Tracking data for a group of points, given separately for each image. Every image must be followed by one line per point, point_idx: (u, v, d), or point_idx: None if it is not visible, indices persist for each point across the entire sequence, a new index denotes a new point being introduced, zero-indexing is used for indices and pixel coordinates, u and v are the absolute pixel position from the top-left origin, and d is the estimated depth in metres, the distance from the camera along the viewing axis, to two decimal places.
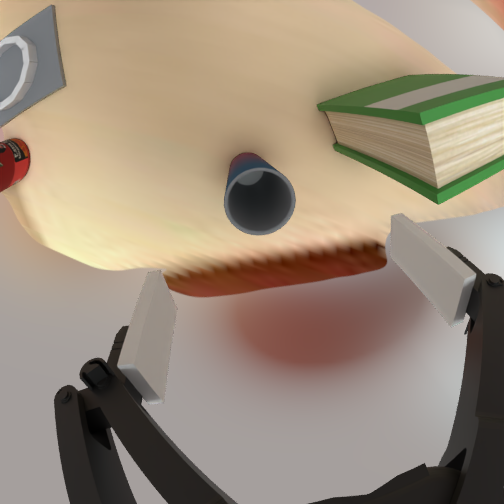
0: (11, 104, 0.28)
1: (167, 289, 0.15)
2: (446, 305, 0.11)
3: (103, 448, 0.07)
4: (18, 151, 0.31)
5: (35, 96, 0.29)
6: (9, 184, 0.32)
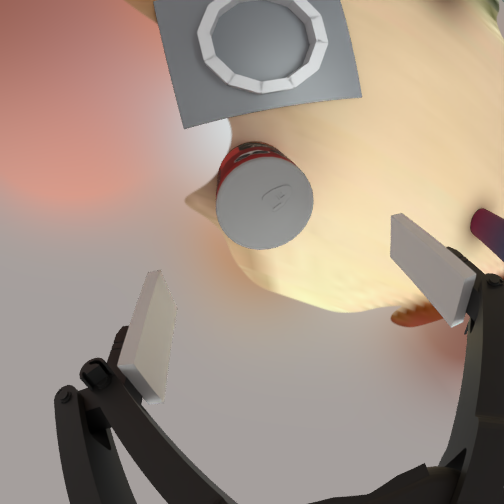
0: None
1: (167, 289, 0.15)
2: (446, 305, 0.11)
3: (103, 448, 0.07)
4: None
5: (316, 94, 0.27)
6: None
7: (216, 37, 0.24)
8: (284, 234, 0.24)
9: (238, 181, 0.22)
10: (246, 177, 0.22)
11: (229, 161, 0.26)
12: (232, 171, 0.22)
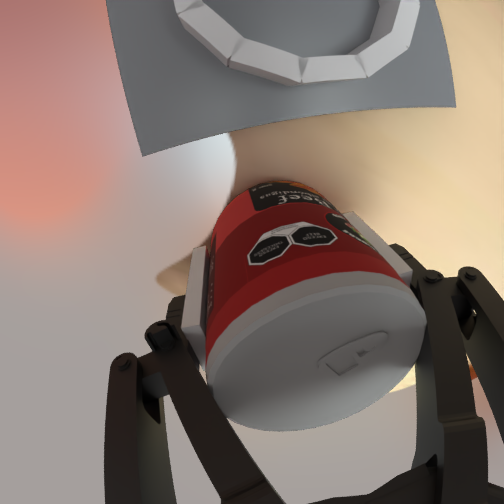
0: None
1: None
2: None
3: (153, 422, 0.08)
4: None
5: (392, 93, 0.14)
6: None
7: None
8: (350, 405, 0.10)
9: (263, 340, 0.08)
10: (285, 329, 0.08)
11: (233, 241, 0.12)
12: (246, 315, 0.08)
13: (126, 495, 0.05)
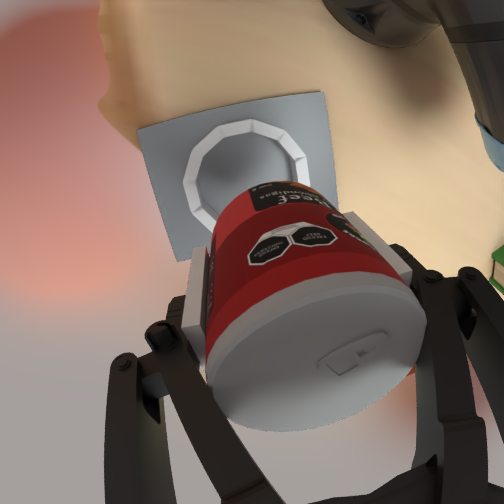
0: None
1: None
2: None
3: (153, 422, 0.08)
4: None
5: None
6: None
7: (202, 176, 0.30)
8: (350, 406, 0.10)
9: (263, 340, 0.08)
10: (285, 330, 0.08)
11: (233, 242, 0.12)
12: (246, 315, 0.08)
13: (126, 495, 0.05)
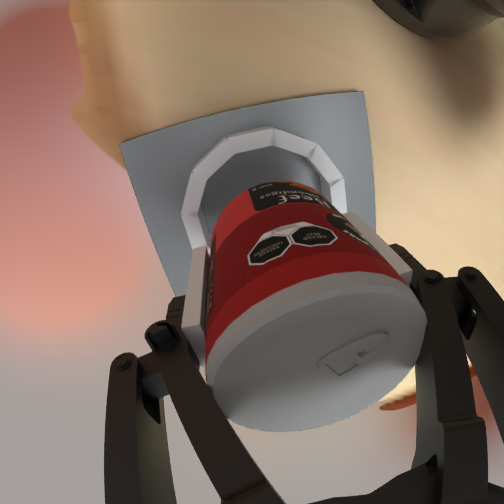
0: None
1: None
2: None
3: (153, 422, 0.08)
4: None
5: None
6: None
7: (206, 203, 0.23)
8: (350, 406, 0.10)
9: (263, 340, 0.08)
10: (285, 330, 0.08)
11: (233, 241, 0.12)
12: (246, 315, 0.08)
13: (126, 495, 0.05)
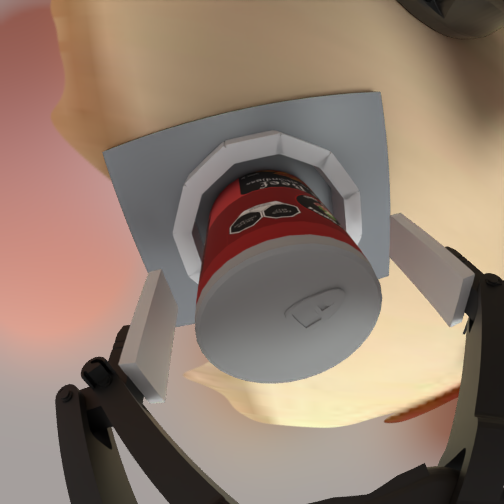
0: None
1: (168, 288, 0.15)
2: (445, 305, 0.11)
3: (104, 447, 0.07)
4: None
5: None
6: None
7: (202, 218, 0.20)
8: (321, 361, 0.13)
9: (237, 288, 0.10)
10: (254, 280, 0.10)
11: (221, 219, 0.14)
12: (223, 268, 0.10)
13: None
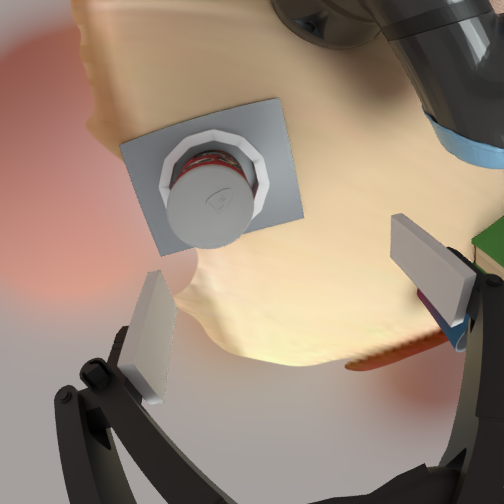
0: None
1: (167, 289, 0.15)
2: (446, 305, 0.11)
3: (103, 448, 0.07)
4: None
5: (263, 222, 0.38)
6: None
7: None
8: (230, 233, 0.26)
9: (183, 189, 0.24)
10: (189, 185, 0.24)
11: (181, 171, 0.28)
12: (177, 180, 0.24)
13: None
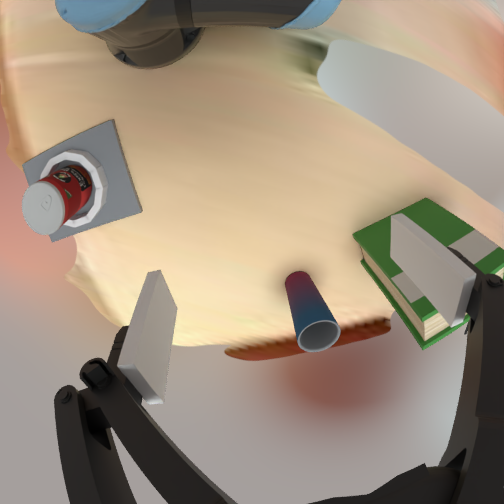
0: None
1: (167, 289, 0.15)
2: (446, 305, 0.11)
3: (103, 448, 0.07)
4: (82, 179, 0.38)
5: (111, 216, 0.44)
6: None
7: None
8: (54, 224, 0.33)
9: (28, 197, 0.30)
10: (30, 194, 0.30)
11: None
12: (25, 192, 0.30)
13: None
